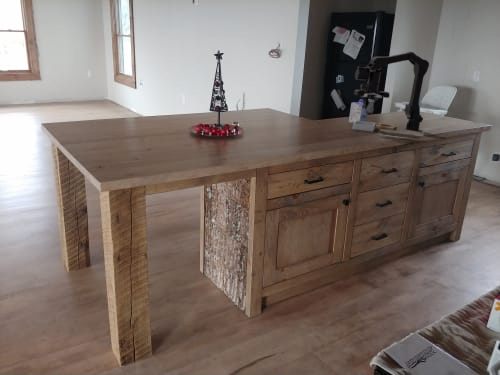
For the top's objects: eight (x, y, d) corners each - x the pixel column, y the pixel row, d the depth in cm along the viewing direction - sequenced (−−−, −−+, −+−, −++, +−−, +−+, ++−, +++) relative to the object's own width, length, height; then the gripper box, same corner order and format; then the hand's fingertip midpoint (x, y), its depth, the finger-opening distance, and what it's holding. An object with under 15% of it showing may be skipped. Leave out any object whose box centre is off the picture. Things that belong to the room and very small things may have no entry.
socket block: (394, 128, 263) (395, 125, 262) (393, 131, 254) (394, 127, 253) (377, 126, 266) (377, 123, 266) (375, 129, 257) (375, 125, 257)
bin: (374, 129, 257) (375, 122, 256) (372, 133, 247) (373, 126, 246) (354, 127, 261) (355, 120, 259) (352, 130, 251) (352, 123, 249)
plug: (374, 113, 250) (376, 100, 248) (366, 113, 249) (368, 100, 247) (371, 111, 255) (373, 99, 252) (362, 111, 254) (364, 99, 252)
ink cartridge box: (366, 125, 270) (369, 100, 265) (359, 125, 267) (362, 100, 263) (355, 121, 278) (358, 98, 273) (348, 122, 275) (351, 98, 271)
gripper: (383, 80, 255) (378, 107, 260) (352, 78, 252) (348, 106, 257) (392, 82, 245) (387, 111, 250) (360, 80, 242) (355, 109, 247)
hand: (369, 109), depth 251 cm, fingers closed on plug, 4 cm apart
